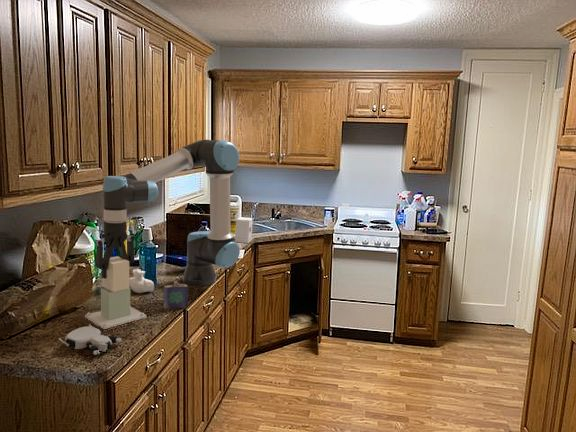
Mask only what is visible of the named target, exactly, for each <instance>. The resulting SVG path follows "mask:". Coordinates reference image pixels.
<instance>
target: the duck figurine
mask: <svg viewBox="0 0 576 432" xmlns="http://www.w3.org/2000/svg"><path fill="white" fill-rule="evenodd" d="M145 274H146V271H145V270H142V269H139V268H136V269H132V276H131V277H129V288H130V290H132V291H133V292H134V293H137V294H142V293H146V292H153V291H154V289H155V284H154V281H152V280H150V279H147V278H145V277H144V275H145Z"/></svg>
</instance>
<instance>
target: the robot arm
mask: <svg viewBox="0 0 576 432" xmlns="http://www.w3.org/2000/svg"><path fill="white" fill-rule="evenodd" d="M239 163H240V153H239V150H238V148H237V146H235V144H233V142H230V141H226V140H222V139H221V140H215V139H200V140H196V141H195V142H192V143H189V144H187V145H184V146H182V147H179V148H178V150H177V152H175V153H172V154H170V155H168V156H165V157H164V158H161V159H158V160H156V161H154V162H151V163H150V164H147V165H146V166H145V165H144V166H143V167H141V168H139V169H136V170H134V171H132V172H128V173H127V174H124V175H116V176H115V175H107V176H105V177H104V178H103V183H102V191H103V192H102V193H103V195H102V196H103V197H102V199H103V200H102V201H103V202H102V203H103V220H104V222H103V236H102V238H100V239H95V241H94V243H95V245H96V247H95V248H96V249H95V250H96V251H95V268H97V269H99V270H100V273H101V274H100V275H101V279H102V278H104V286H105V287H107V288H109V287H110V279H109V269H107V268H108V264H109V261H110V257H112V253H113V251H114V249H115V248H118V250H119V254H120V256H121V258H123V259H125V260H128V261H129V267H130V266H131V265H132V264H134V263H135V246H134V244H135V243H134V241H135V236H133V235H132V234H129V235H128V234H127V229H128V226H127V225H128V224H127V223H128V222H127V219H128V218H127V217H128V216H127V214H128V212H127V209H128V208H127V204H131V203H143V202H144V203H148V202H152V201H155V200H157V198H158V195H159V188H158V185H157V182H160V181H162V180H165V179H166V178H169V177H171V176H174V175H175V174H177V173H179V172H182V171H184V170H191V169H194V168H200V167H204V168H205V175H207V176H208V177H209V209H210V210H209V218H210V220H209V222H210V230H209V231H208V230H207V231H206V230H205V231H204V230H202V231H193V232H189V234H188V235H187V240H186V266H185V269H184V273H183V275H182V283H183V284H184V285H187V286H193V287H203V286H206V287H207V286H211V285H213V284H215V283H216V282H217V275H216V271H215V267H214V265H215V266H217V267H220V268H221V267H222V268H230V267H233V265H234V264H236V261H238V259H239V257H240V253H241V252H240V251H241V249H240V245H238V242H235V234H234V233H233V232H232V231H231V228H232V227H231V224H232V223H231V177H232V176H233V175H234V173H235V172H234V171H235V169H236V168H237V167H238V164H239ZM125 242H126V243H125ZM104 245H105V246H104ZM104 247H105V250H104ZM126 249H127V250H126ZM105 287H104V288H105Z"/></svg>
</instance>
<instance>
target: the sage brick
mask: <svg viewBox="0 0 576 432" xmlns="http://www.w3.org/2000/svg"><path fill="white" fill-rule="evenodd" d="M130 307H131V287H129V289H124V290H120V291H115V292H112V291H111V290H109V289H107V288H105V287H102V288H100V311H101V316H103V317H105V318H106V319H108V320H113V319H117V318H120V317H124V316H128V315H130Z"/></svg>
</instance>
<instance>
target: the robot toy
mask: <svg viewBox="0 0 576 432" xmlns="http://www.w3.org/2000/svg"><path fill="white" fill-rule="evenodd" d="M101 332H102V330H101V329H99V328H98V327H97V328H96V327H94V326H92V325H91V324H90V323H89V324H88V326H82V327H79V328H75V329H73V330H72V331H70V332H69V333H67V334H66V336H65V337H64V340H62V338H60V337H59V338H58V341H60V342H62V343H63V344H64V345H65V346H66V347H69V348H71V349H73V348H74V350H82V349H86V348H87V349H89V352H90V353H91V354H92V355H94V356H96V355H100V354H101V352H99V351H102V352H107V351H109V350H111V349H112V344H116V343H121V342H122V340H123V339H122V338H121V337H117V336H116V335H115V336H114V335H111V336H108V335H104V334H102V333H101ZM106 350H107V351H106Z"/></svg>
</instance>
